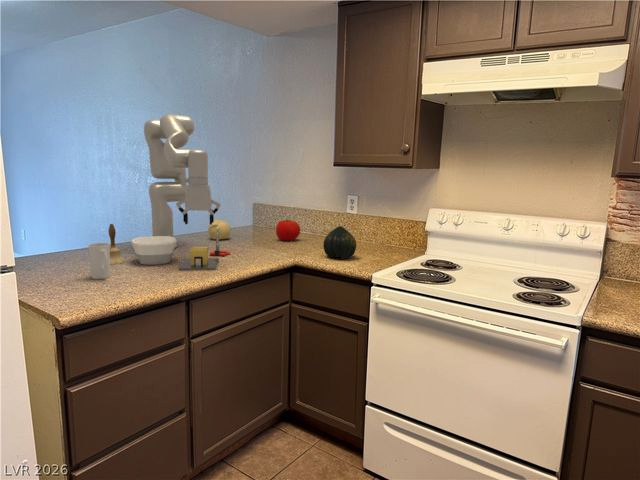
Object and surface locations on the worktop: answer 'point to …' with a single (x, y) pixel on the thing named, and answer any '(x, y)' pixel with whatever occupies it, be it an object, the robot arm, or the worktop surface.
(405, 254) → the worktop surface
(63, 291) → the worktop surface
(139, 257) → the bowl
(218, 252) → the tow hook
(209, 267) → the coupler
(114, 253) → the hand bell
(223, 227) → the sculpture
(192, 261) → the notched yellow block
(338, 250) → the squash
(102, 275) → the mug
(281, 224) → the tomato
